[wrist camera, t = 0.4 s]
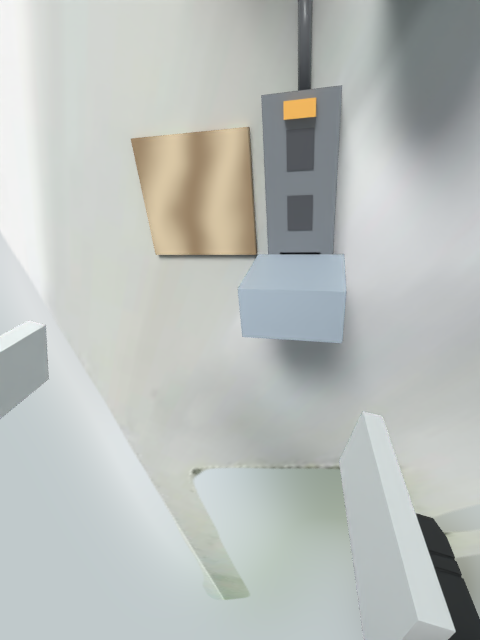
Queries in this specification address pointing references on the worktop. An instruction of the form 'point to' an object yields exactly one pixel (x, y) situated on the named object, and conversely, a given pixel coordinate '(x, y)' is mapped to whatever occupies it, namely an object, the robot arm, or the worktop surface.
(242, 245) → the tan flat square block
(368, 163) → the worktop surface
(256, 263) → the block
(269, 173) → the power strip
